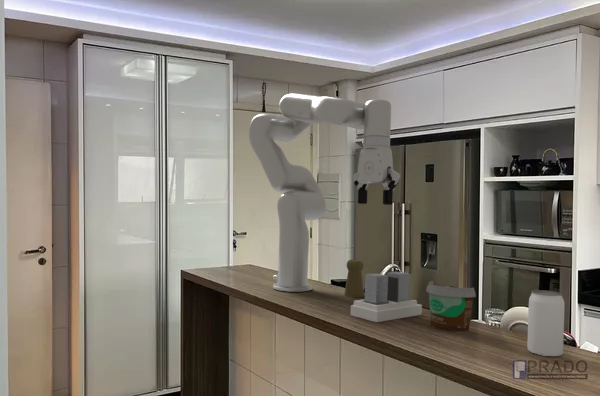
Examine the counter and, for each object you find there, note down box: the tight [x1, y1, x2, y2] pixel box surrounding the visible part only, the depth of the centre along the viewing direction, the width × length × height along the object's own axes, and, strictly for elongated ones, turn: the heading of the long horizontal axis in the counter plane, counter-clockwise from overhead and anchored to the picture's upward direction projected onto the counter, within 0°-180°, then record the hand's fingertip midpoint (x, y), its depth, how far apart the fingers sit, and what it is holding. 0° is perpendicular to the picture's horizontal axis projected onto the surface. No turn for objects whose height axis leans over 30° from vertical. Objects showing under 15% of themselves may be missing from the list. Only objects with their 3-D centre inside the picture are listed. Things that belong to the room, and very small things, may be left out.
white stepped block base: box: [350, 271, 423, 323], centre depth 136 cm, size 9×17×10 cm, turn 129°
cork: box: [343, 258, 365, 298], centre depth 163 cm, size 6×6×11 cm
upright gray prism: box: [364, 273, 389, 305], centre depth 134 cm, size 4×4×8 cm
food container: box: [426, 280, 477, 332], centre depth 124 cm, size 12×6×10 cm, turn 40°
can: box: [526, 289, 565, 357], centre depth 106 cm, size 6×6×12 cm
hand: (374, 204), depth 151 cm, fingers open, 9 cm apart
